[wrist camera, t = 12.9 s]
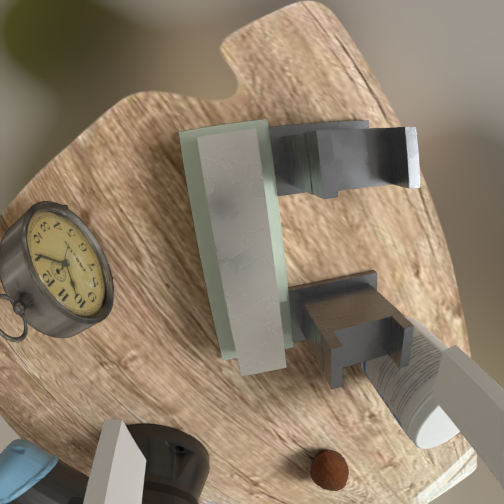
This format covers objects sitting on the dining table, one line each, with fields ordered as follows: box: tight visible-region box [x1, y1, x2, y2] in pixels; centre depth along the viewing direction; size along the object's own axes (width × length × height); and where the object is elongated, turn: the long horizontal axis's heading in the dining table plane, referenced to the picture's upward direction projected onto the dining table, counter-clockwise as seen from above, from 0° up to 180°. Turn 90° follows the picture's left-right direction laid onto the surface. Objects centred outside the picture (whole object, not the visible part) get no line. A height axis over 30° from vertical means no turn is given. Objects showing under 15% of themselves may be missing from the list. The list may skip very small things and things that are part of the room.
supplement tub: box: [361, 316, 460, 449], centre depth 31 cm, size 10×10×15 cm
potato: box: [310, 451, 349, 491], centre depth 41 cm, size 6×12×6 cm, turn 25°
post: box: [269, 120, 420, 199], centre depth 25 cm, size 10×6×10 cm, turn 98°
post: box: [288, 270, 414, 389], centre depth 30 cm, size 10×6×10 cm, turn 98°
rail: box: [197, 128, 287, 376], centre depth 29 cm, size 4×22×4 cm, turn 8°
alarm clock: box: [0, 201, 114, 342], centre depth 22 cm, size 11×5×16 cm, turn 28°
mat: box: [179, 119, 294, 360], centre depth 31 cm, size 8×24×1 cm, turn 8°
